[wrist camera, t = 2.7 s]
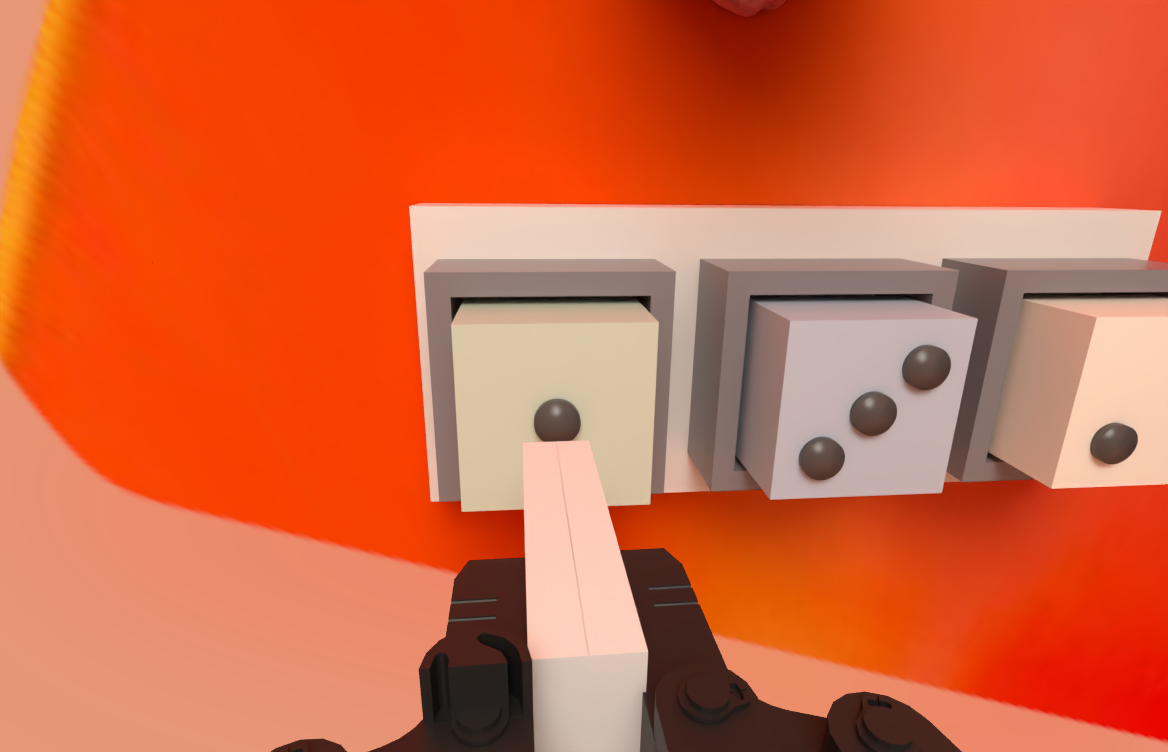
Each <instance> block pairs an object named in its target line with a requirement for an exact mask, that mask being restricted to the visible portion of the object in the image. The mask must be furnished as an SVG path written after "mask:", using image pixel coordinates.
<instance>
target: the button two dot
mask: <svg viewBox="0 0 1168 752" xmlns="http://www.w3.org/2000/svg"><path fill="white" fill-rule="evenodd" d="M988 452H989V453H991V454H993V455H994V456H996V457H998V458H1000V459H1001V460H1003V461H1005V462H1006V463H1008V464H1010V465H1012V466H1013V467H1015V468H1017V469H1018V470H1020V471H1022V472H1024V473H1025V474H1027V475H1029V476H1030V477H1032V478H1034V479H1036V480H1037V481H1039V482H1041V483H1042V484H1044V485H1046V486H1048V487H1049V488H1051V489H1055V488H1080V487H1106V486H1131V485H1157V484H1168V297H1163V296H1157V295H1152V294H1053V295H1023V299H1022V303H1021V308H1020V312H1019V317H1018V321H1017V325H1016V330H1015V334H1014V339H1013V343H1012V347H1011V352H1010V356H1009V361H1008V365H1007V369H1006V374H1005V378H1004V383H1003V387H1002V391H1001V396H1000V400H999V405H998V409H997V413H996V418H995V422H994V427H993V431H992V435H991V440H990V444H989V449H988Z"/></svg>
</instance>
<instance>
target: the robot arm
mask: <svg viewBox="0 0 1168 752" xmlns="http://www.w3.org/2000/svg"><path fill="white" fill-rule="evenodd" d="M522 446H523V491H524V536H525V558H507V559H488V560H469V561H468V563H467V564H466V565H465V566H464V568H463V569H462V570H461V572H460V573H459V574H458V575H457V577H456V578H455V579H454V586H453V593H452V600H451V606H450V612H449V623H448V625H447V632H446V637H445V638H443V639H441V640H439V641H438V642H437V644H435V645H434V646H433V647H432V648H431V649H430V650H429V651H428V652H427V653H426V655H425V657H424V659H423V661H422V664H421V666H420V668H419V675H420V688H421V699H422V710H423V720H422V721H421V722H420V723H419V724H418V725H417V726H416V727H415V728H414V729H413V730H411V731H410V732H408V733H407V734H405V735H404V736H403V737H401V738H400V739H398V740H395V741H393V742H391V743H389V744H387V745H385V746H382V747H380V748H377V749H374V750H371V751H369V752H961V751H960V750H959V749H958V748H957V747H956V746H955V745H954V744H953V743H952V742H951V741H950V740H949V739H948V738H946V736H945V735H943V734H942V733H941V732H940V731H939V730H938V729H937V728H936V727H935V726H934V725H933V724H932V723H931V722H930V721H928V720H927V719H926V718H925V717H923V716H922V715H921V714H919V713H918V712H916V711H915V710H914V709H912V708H911V707H910V706H908V705H906V704H904V703H902V702H899V701H897V700H895V699H893V698H890V697H888V696H885V695H880V694H874V693H869V692H859V693H851V694H846V695H844V696H842V697H841V698H839V699H837V700H836V701H834V702H833V704H832V706H831V709H830V711H829V713H828V715H827V718H824V717H819V716H814V715H809V714H804V713H799V712H794V711H789V710H785V709H781V708H778V707H774V706H771V705H769V704H767V703H765V702H763V701H761V700H759V699H758V697H757V696H756V694H755V693H754V692H753V691H752V689H751V688H750V686H749V685H748V684H747V682H746V681H744V680H743V679H742V678H740V677H739V676H738V675H736V674H735V673H733V672H732V671H730V670H728V669H727V667H726V665H725V662H724V660H723V658H722V655H721V653H720V651H719V649H718V646H717V644H716V642H715V639H714V637H713V635H712V632H711V630H710V628H709V625H708V623H707V621H706V618H705V616H704V614H703V611H702V609H701V607H700V605H698V600H697V598H696V595H695V593H694V591H693V588H691V584H690V581H689V579H688V577H687V574H686V572H685V570H684V568H683V565H682V564H681V563H680V562H679V561H678V560H677V559H675V558H674V557H673V556H672V555H671V554H670V553H669V552H668V551H666V550H665V549H664V548H659V549H640V550H621V551H620V549H619V546H618V542H617V539H616V535H615V532H614V528H613V524H612V521H611V517H610V514H609V510H608V507H607V503H606V499H605V496H604V492H603V489H602V485H601V482H600V478H599V475H598V471H597V467H596V464H595V460H594V457H593V453H592V450H591V446H590V442H589V440H586V441H556V442H527V443H522ZM271 752H347V751H345V749H344V748H343V747H342V746H341V745H339V744H337V743H334V742H331V741H328V740H325V739H307V740H299V741H295V742H293V743H290V744H287V745H284V746H281V747H278V748H276V749H274V750H273V751H271Z"/></svg>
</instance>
